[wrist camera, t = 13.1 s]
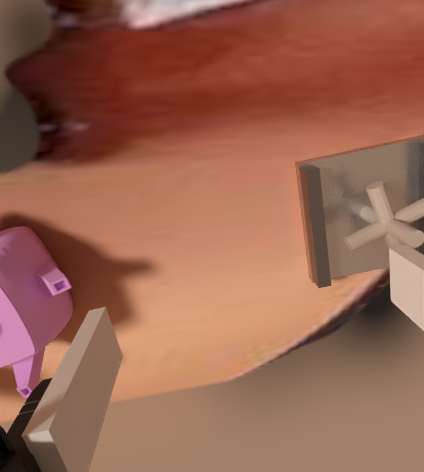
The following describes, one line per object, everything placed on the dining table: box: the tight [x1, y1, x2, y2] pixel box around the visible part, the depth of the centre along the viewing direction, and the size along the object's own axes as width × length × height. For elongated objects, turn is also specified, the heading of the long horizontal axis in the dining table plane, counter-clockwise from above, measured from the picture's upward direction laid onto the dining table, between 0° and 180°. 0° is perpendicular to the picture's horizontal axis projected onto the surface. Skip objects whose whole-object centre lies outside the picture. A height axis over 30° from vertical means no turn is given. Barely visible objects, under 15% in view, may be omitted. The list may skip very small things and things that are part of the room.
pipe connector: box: [344, 181, 424, 251], centre depth 39 cm, size 10×10×10 cm
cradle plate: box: [295, 135, 424, 288], centre depth 43 cm, size 16×16×4 cm
